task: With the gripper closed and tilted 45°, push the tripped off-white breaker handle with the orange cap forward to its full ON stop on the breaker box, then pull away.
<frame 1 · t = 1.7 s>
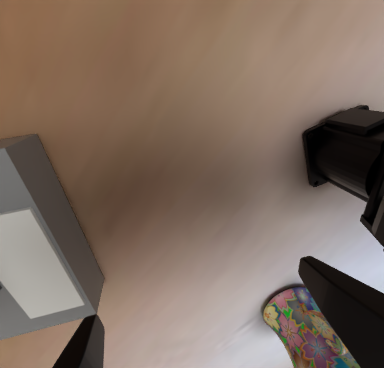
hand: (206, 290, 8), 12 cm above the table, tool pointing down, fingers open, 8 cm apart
mug: (286, 295, 31), on the table
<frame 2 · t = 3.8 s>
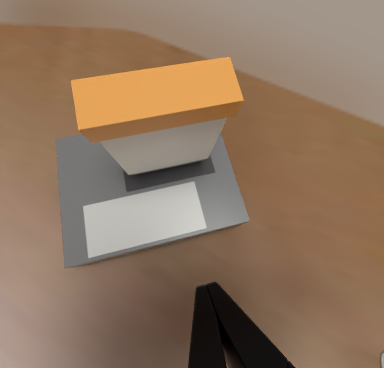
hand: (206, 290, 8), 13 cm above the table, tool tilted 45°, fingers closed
breaker handle: (164, 138, 14), point 10 cm above the table, hinge at -6.0°
breaker box: (169, 178, 24), on the table
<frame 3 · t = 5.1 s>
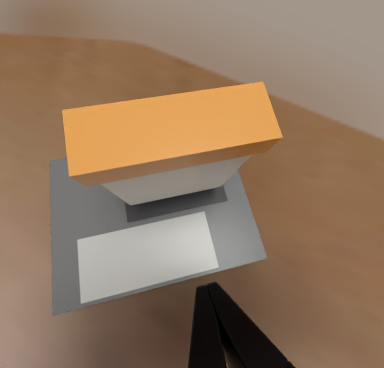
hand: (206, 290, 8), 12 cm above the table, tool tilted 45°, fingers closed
breaker handle: (175, 169, 12), point 10 cm above the table, hinge at -6.0°
breaker box: (175, 202, 22), on the table
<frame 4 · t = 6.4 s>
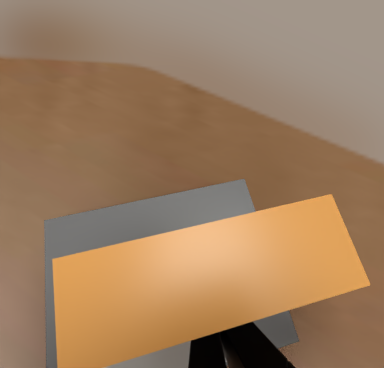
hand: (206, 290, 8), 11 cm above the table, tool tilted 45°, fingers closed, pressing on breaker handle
breaker handle: (196, 260, 10), point 10 cm above the table, hinge at -2.5°, touching gripper
breaker box: (187, 256, 19), on the table
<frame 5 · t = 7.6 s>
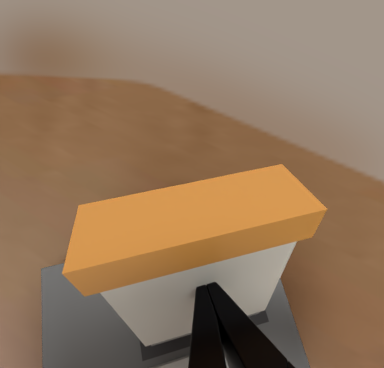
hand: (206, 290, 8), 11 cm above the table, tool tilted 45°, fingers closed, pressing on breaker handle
breaker handle: (201, 281, 10), point 9 cm above the table, hinge at 31.3°, touching gripper
breaker box: (196, 297, 18), on the table
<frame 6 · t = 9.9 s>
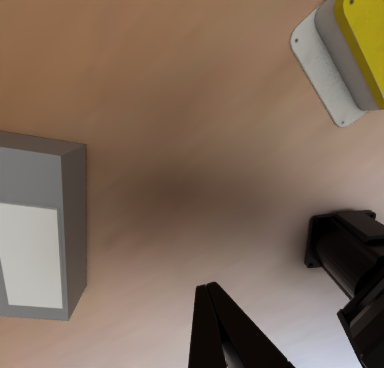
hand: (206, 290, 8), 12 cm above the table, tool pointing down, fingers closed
breaker box: (5, 196, 19), on the table
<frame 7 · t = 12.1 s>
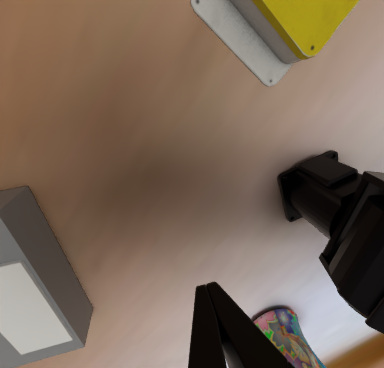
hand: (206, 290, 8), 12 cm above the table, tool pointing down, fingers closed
mug: (269, 315, 33), on the table
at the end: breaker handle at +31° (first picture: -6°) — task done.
